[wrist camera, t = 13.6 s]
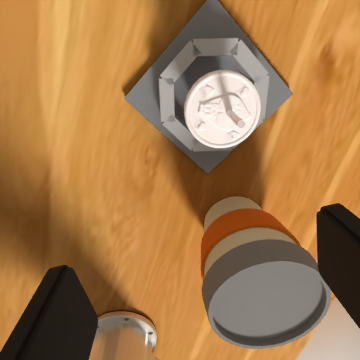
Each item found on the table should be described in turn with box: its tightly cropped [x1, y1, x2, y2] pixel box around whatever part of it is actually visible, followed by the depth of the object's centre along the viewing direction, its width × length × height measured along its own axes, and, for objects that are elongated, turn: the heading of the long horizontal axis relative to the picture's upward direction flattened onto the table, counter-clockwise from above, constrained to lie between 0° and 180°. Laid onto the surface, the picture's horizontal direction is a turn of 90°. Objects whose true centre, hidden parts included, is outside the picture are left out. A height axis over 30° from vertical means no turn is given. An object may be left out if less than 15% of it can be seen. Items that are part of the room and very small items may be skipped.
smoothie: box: [184, 70, 261, 148], centre depth 24 cm, size 6×6×14 cm
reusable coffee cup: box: [201, 196, 331, 349], centre depth 32 cm, size 13×13×15 cm
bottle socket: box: [124, 0, 293, 174], centre depth 29 cm, size 14×14×4 cm
